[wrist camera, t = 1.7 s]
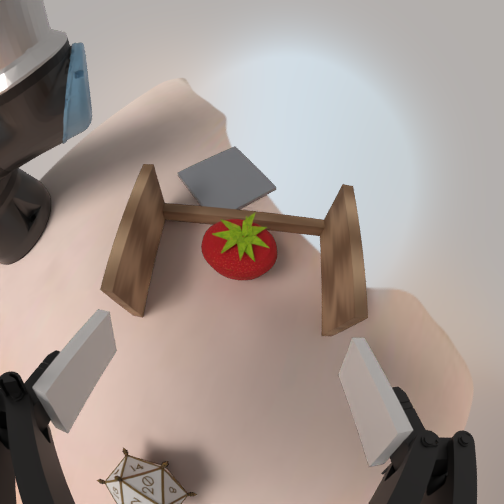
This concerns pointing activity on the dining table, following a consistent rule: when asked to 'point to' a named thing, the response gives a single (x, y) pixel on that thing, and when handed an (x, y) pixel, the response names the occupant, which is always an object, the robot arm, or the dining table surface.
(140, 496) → the game die
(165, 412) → the dining table surface
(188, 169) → the pad
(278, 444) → the dining table surface
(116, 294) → the wooden crossbar stand
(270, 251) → the strawberry
